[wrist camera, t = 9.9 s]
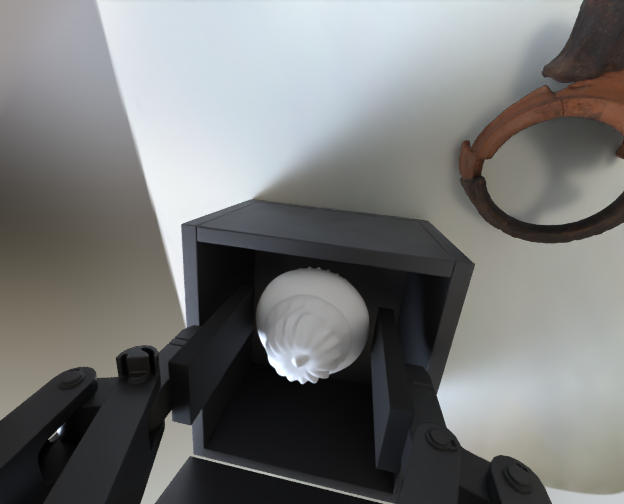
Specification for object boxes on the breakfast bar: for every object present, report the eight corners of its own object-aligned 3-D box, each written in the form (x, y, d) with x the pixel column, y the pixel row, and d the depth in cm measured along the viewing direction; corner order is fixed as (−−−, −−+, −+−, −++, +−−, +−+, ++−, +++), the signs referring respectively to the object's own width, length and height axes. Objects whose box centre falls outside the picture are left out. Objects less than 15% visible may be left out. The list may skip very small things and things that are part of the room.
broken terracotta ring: (629, 197, 19) (661, 269, 14) (468, 195, 24) (445, 246, 19) (718, -53, 13) (839, -101, 8) (477, 19, 18) (447, 20, 13)
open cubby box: (250, 199, 23) (180, 223, 14) (428, 220, 21) (475, 264, 12) (246, 361, 28) (193, 454, 19) (390, 389, 26) (404, 506, 17)
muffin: (256, 279, 19) (200, 342, 13) (331, 230, 17) (313, 273, 11) (310, 349, 20) (284, 441, 14) (387, 309, 18) (401, 393, 12)
